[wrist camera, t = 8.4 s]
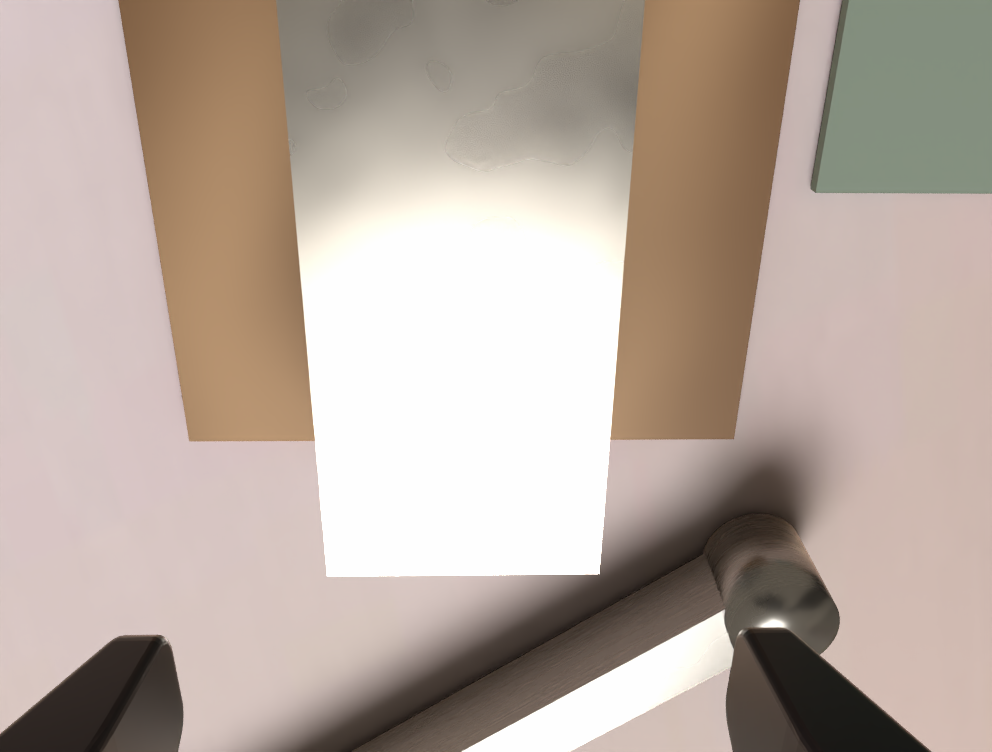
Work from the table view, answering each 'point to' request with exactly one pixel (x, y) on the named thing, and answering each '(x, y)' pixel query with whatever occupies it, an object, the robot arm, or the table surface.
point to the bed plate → (273, 236)
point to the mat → (908, 99)
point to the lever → (634, 649)
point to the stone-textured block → (461, 273)
